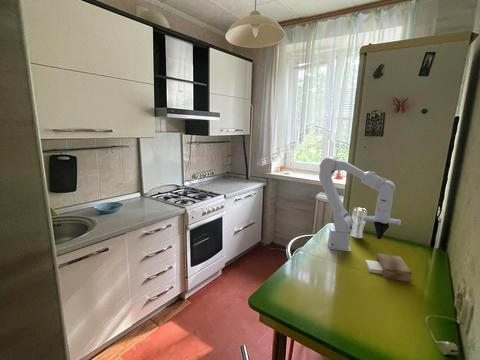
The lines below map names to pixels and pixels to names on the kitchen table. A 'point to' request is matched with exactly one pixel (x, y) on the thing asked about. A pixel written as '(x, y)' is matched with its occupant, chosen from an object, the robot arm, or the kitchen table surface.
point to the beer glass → (358, 222)
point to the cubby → (394, 267)
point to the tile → (374, 266)
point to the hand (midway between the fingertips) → (378, 238)
